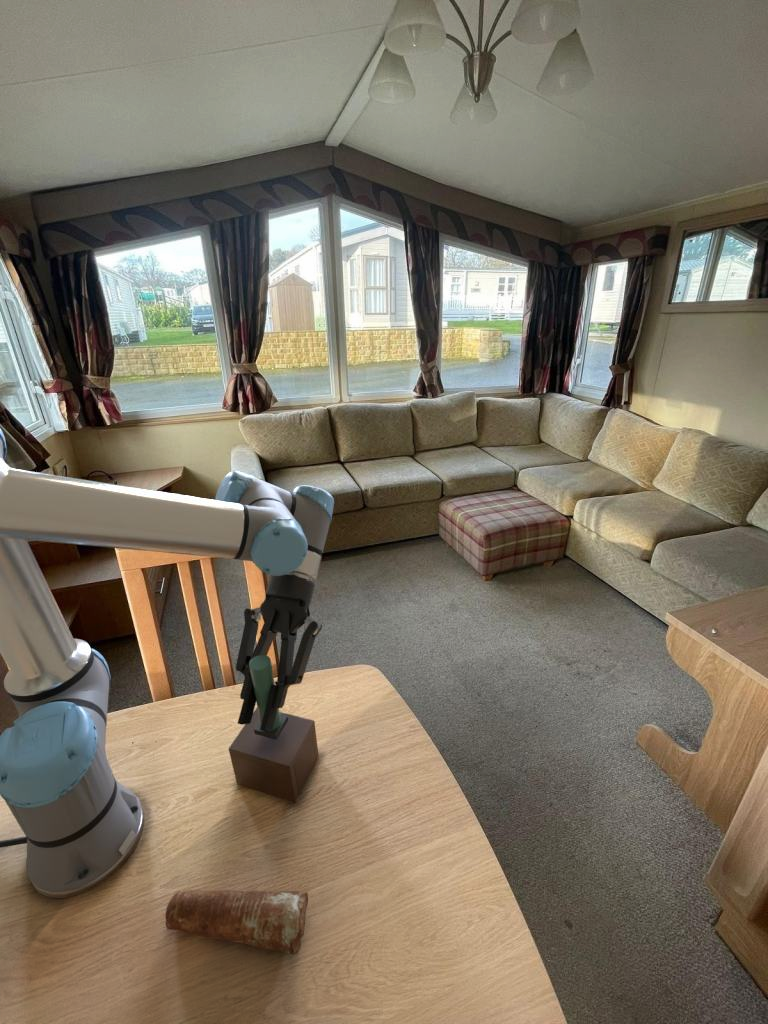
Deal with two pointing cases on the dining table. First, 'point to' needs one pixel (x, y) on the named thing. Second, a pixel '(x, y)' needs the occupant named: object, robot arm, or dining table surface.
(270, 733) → the green handled tool
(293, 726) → the dark brown wooden cube
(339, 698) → the dining table surface
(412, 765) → the dining table surface
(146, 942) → the dining table surface
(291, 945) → the brown cylinder
